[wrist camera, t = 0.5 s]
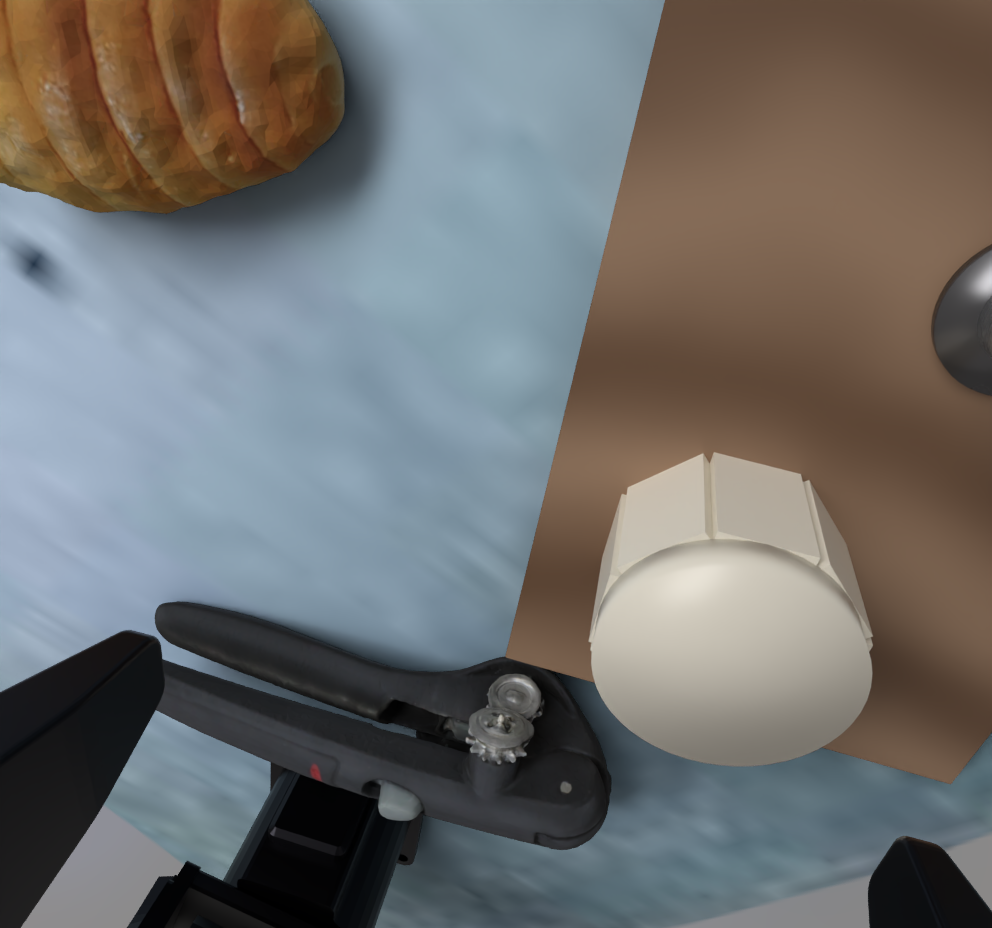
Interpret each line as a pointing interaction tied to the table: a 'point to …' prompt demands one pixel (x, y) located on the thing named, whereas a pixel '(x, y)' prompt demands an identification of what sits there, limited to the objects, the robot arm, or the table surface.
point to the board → (800, 332)
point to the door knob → (966, 323)
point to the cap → (729, 616)
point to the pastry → (161, 98)
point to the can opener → (404, 701)
